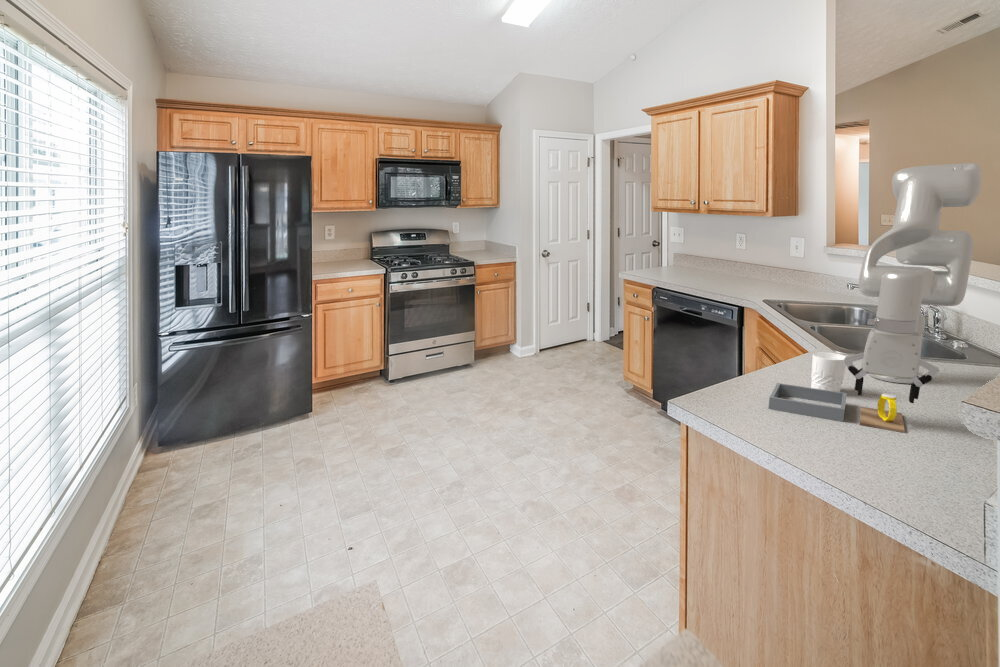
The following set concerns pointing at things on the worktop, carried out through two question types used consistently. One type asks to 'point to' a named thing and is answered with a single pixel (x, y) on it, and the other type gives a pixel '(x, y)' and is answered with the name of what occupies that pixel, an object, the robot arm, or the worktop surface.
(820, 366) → the white cup
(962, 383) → the worktop surface
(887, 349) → the robot arm
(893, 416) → the watch
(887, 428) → the board
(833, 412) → the bin
